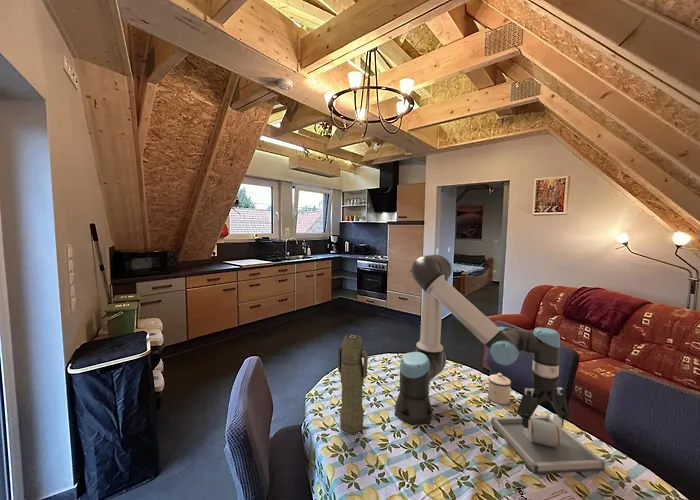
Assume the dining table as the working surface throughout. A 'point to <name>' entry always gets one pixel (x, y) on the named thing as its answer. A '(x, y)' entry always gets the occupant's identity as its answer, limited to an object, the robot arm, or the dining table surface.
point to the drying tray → (547, 449)
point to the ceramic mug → (544, 433)
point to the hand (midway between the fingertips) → (542, 435)
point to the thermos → (352, 383)
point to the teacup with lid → (498, 389)
